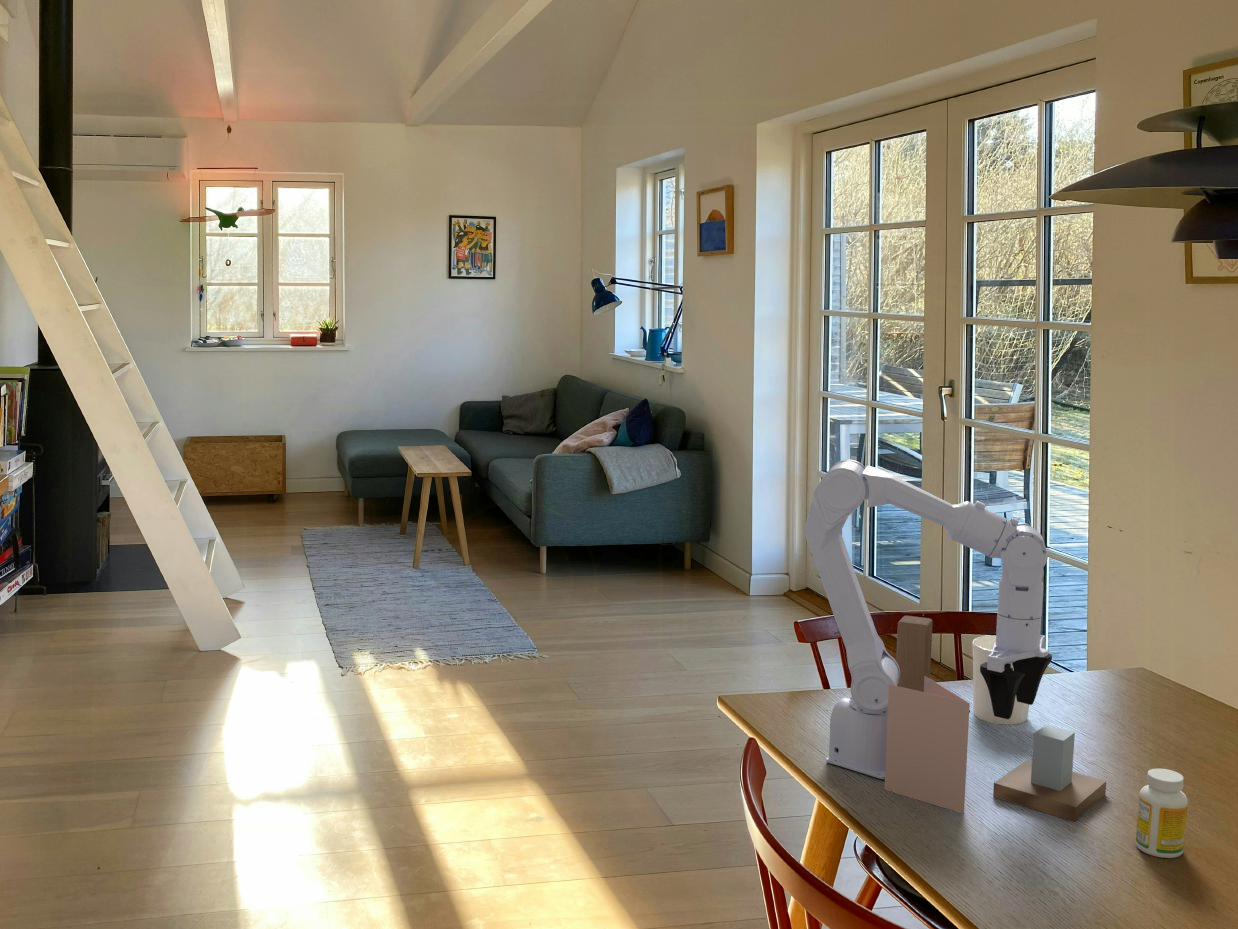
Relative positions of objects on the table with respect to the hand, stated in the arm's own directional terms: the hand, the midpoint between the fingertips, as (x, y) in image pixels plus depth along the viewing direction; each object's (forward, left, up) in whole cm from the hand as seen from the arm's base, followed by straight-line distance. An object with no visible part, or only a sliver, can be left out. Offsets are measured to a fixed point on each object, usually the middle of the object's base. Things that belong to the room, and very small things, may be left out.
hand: (1013, 709), depth 160 cm
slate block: (+6, -1, -8) cm, 10 cm away
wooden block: (-17, +8, -11) cm, 22 cm away
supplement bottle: (+22, -7, -11) cm, 25 cm away
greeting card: (-6, -13, -11) cm, 18 cm away
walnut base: (+6, -1, -10) cm, 12 cm away
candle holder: (-12, +24, -11) cm, 29 cm away
